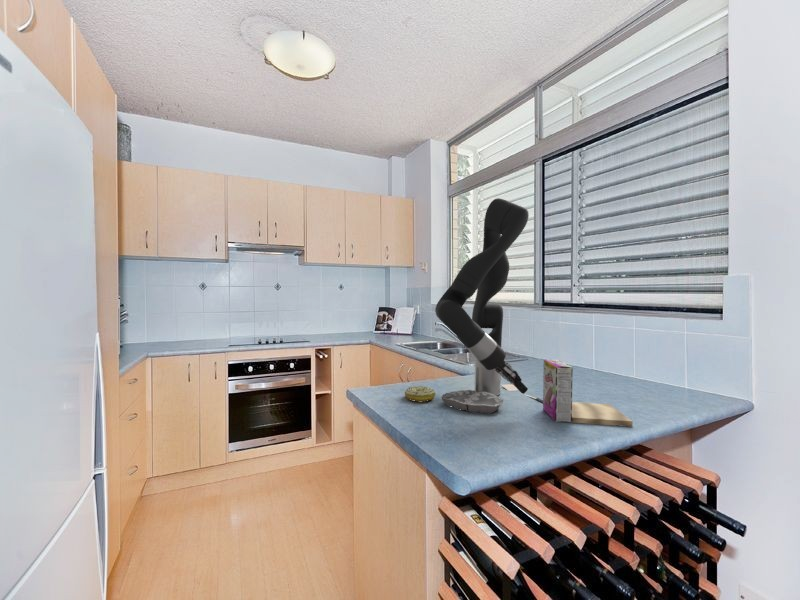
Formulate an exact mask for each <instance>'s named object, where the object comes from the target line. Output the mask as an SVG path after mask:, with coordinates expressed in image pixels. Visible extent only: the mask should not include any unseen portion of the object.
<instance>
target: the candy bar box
mask: <svg viewBox="0 0 800 600" xmlns="http://www.w3.org/2000/svg"><path fill="white" fill-rule="evenodd" d="M573 369H574V367H573V366H571V365H569V364H567V363H565V362H563V361H561V360H559V359H543V379H542V380H543V381H542V383H543V388H542V390H543V391H542V392H543V393H542V395H543V396H542V397H543V398H542V400H543V403H542V410H543V412H544V413H546V414H547V415H548V416H549V417H550V418H551V419H552V420H554V422H556V423H572V402H573Z"/></svg>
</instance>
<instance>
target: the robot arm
mask: <svg viewBox="0 0 800 600" xmlns="http://www.w3.org/2000/svg"><path fill="white" fill-rule="evenodd" d="M529 215H530V214H529V210H528V209H527V208H526V207H524V206H521V205H519V204H516V203H514V202H511V201H509V200H507V199H504V198H503V199H502V198H499V197H498V198H494V199H493V200H492V201H491V202H490V203H489V205H488V207H487V209H486V211H485V215H484V222H483V244H482V245H483V246H482V251H481V252H480V253H478V254H476V255H474V256H472V257H471V258H470V259H468V260H467V261H466V262H465V263H464V264H463V265H462V267H461V268H460V270H459V272H458V273H457V275H456V277H455V278H454V280H453V282H452V284H451V285H450V286H449V287H448V288H447V290H446V291H445V292H444V293H443V294H442V295H441V297H440V298H439V300H438V301H437V304H436V305H435V309H434V312H435V315H436V317H437V318H438V320H440V322H442V323H443V325H445V326H446V327H447V328H448V329H449V330H450V331H451V332H452V333H453V334H454V335H455V336H456V337H457V338H458V340H459V341H460V342H461V343H462V344H463V345H464V346H465V347H466V349H468V351H469V352H470V354H471V355H472V356H473V357H474V358H475V365H474V391H477V393H478V392H488V393H491V394H493V395H496V396H497V397H498V396H499V395H501V388H502V383H501V382H502V381H501V379H502V378H503V379H504V380H505V381H507V382H509V383H510V384H513V385H514V386H515V387H516V388H517V389H518V390H517V391H519V392H520V393H521V394H523V395H525V394H526V392H527V391H529V389H528V387H527V386H526V385H525V384H524V383H523V382H522V378H521V377H520V375H519V373H518V372H517V371H516V370H514V369H513V368H512V365H511V364H510V363H509V362H506V361H505V359H506V356H507V354H506V351H505V350H504V349H503V348H502V340H503V339H502V337H503V322H504V308H503V306H502V304H500V303H490V302H489V301H490V300H491V299H492V298H493V297H495V296H496V295H497V294H498V293H499V292H501V290H502V289H504V287H505V285H506V284H507V282H508V277H509V272H510V262H509V258H508V256H507V254H506V252H507V251H508V250H509V248H510V247H511V246H512V245H513V244H514V243H515V242H516V240H517V239H518V237H519V236H520V235H521V234H522V232H523V231H524V229H525V227H526V225H527V224H528V221H529ZM475 293H476V296H475V301H474V303H473V304H474V305H473V308H472V314H471V315H472V316H470V315H469V313H467V311H466V310H465V309H464V308H463V306H464V305H465V303H466V301H467V300H468V299H470V298H471V297H473V295H475ZM483 329H491V331H490V332H489V333H487V332H486V331H485V330H483Z"/></svg>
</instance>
